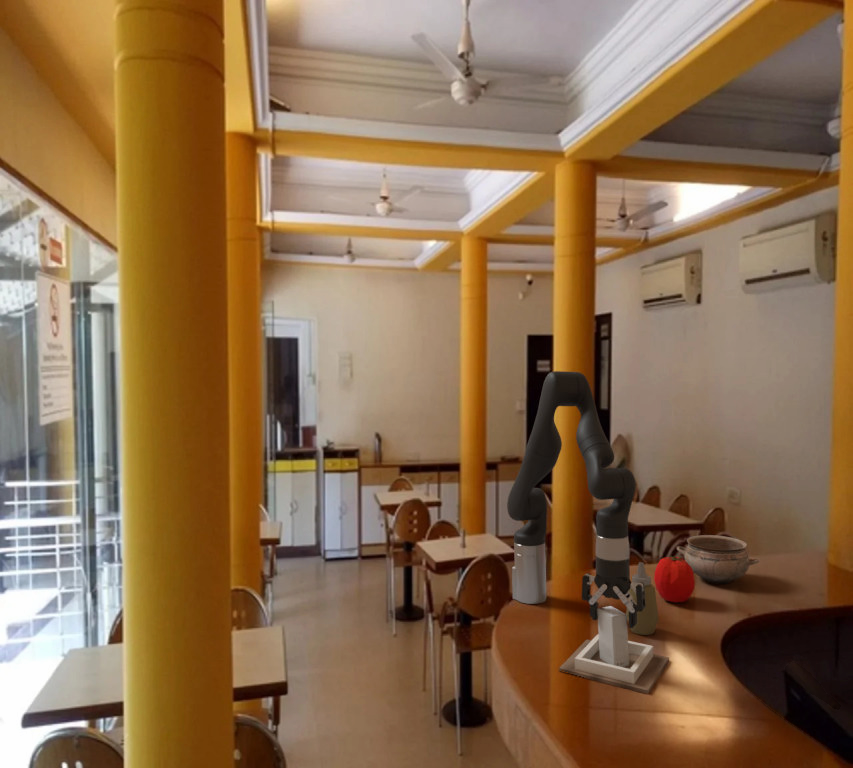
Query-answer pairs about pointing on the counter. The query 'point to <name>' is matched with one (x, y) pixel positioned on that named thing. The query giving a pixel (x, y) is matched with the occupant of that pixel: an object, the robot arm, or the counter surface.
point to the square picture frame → (611, 670)
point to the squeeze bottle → (650, 612)
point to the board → (644, 680)
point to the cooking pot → (717, 557)
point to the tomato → (674, 579)
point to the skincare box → (613, 636)
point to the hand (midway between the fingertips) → (613, 623)
